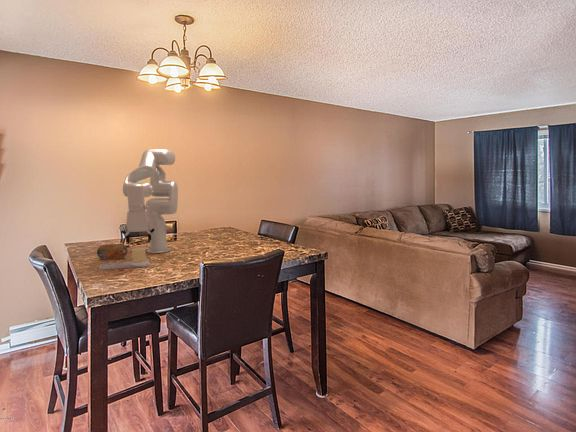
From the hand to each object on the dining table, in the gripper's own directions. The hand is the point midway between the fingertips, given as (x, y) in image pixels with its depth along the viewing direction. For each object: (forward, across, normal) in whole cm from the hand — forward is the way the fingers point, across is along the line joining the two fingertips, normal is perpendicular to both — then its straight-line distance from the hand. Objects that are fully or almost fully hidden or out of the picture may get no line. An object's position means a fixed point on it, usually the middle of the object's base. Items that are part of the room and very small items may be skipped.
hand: (139, 242), depth 182 cm
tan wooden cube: (+9, 0, +1) cm, 9 cm away
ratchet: (+12, +7, +1) cm, 14 cm away
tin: (+13, +15, -19) cm, 27 cm away
